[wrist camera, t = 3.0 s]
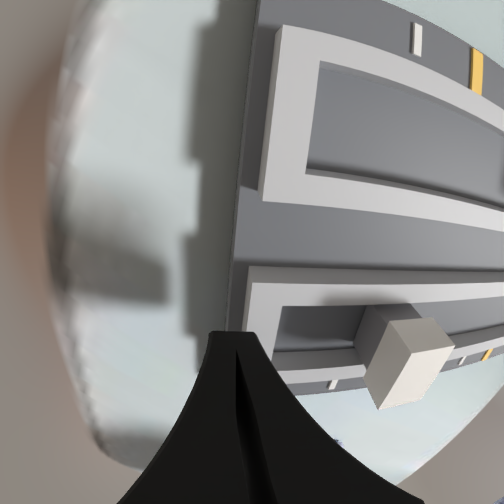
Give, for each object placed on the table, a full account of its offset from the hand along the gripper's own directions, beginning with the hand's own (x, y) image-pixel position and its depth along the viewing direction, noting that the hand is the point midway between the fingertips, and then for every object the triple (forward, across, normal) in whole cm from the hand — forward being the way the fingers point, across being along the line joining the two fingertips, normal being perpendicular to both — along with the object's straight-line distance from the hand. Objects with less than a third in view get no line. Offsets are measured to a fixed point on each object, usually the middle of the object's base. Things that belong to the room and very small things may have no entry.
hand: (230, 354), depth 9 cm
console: (+3, -11, -4) cm, 12 cm away
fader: (+1, -6, 0) cm, 6 cm away
